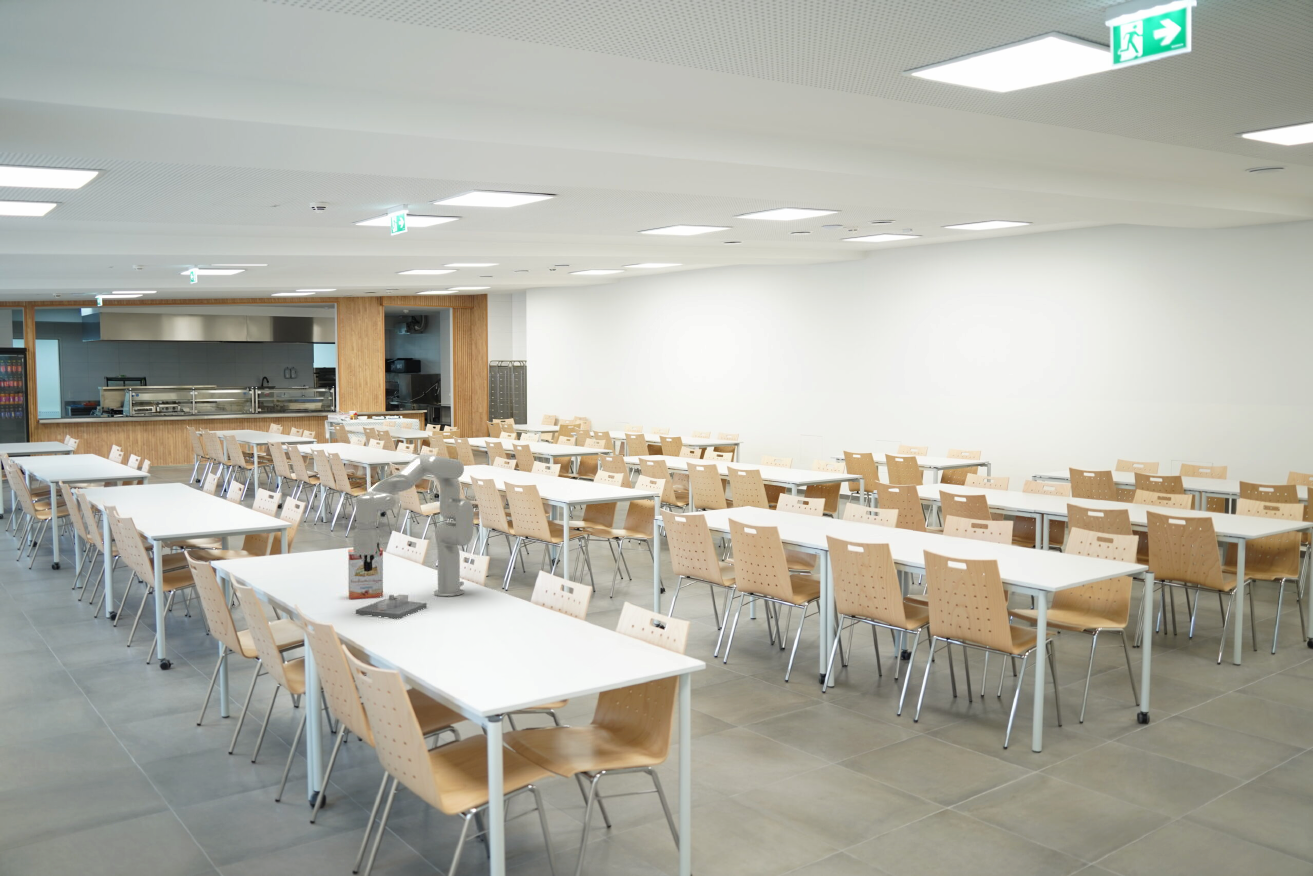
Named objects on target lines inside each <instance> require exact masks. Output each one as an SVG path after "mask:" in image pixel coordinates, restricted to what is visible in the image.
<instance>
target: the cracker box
mask: <svg viewBox="0 0 1313 876" xmlns="http://www.w3.org/2000/svg"><path fill="white" fill-rule="evenodd" d="M347 550H348V558H347V559H348V563H347V564H348V568H347V570H348V598H349V600H355V599H359V600H360V599H371V598H372V599H373V598H381V597H380V596H383V597H384V550H383V548H382V547H380V552H379V554H380V556H379V557H376V558H374V560H373V561H372V570H371V571H369V572H367V571H366V572H365V571H364V563H363V561H362V559H361V558H360V557H358V556H356V555H355V553H354V551H353V549H347ZM374 555H375V554H374Z"/></svg>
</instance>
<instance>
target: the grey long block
mask: <svg viewBox="0 0 1313 876" xmlns="http://www.w3.org/2000/svg"><path fill="white" fill-rule="evenodd" d="M385 599H386V600H384V599H383V600H384V601H381V600H380V601H381V602H379V603H378V610H381V611H388V610H390V609H393V608H395V607H399V606H401V605H403V604H405V603H408V601H409V594H401V593H400V594H396V595H394V600H389V597H388V598H385Z"/></svg>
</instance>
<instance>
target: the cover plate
mask: <svg viewBox="0 0 1313 876" xmlns="http://www.w3.org/2000/svg"><path fill="white" fill-rule="evenodd" d="M394 596H395V595H394V594H389V595H388V598H389V600H394ZM386 599H387V598H384V599H382V600H379V601H376V602H373V603H370V604H368V605H365V606H362V607H359V608H357V609H355V615H356V614H360V615H359V616H364V615H372V616H371V617H374V616H381V617H380V618H384V617H388V618H387V619H394V618H398V619H397V620H400V619H402V617H403V616H405V617H407V616H409V615H408V614H410V615H412V614H414V613H413V612H415V613H417V612H419V611H418V610H420V611H421V609H422V610H424V609H423V608H425V609H427V608H428V607H427V602H420V601H409V600H408V603H405V604H403V605H401V606H399V607H395V608H393V609H390V610H388V611H381V610H378V603H379V602H381V601H384V600H386ZM426 607H427V608H426ZM416 611H417V612H416ZM411 613H412V614H411ZM406 615H407V616H406ZM399 618H400V619H399ZM403 618H404V617H403Z"/></svg>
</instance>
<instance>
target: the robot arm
mask: <svg viewBox="0 0 1313 876" xmlns="http://www.w3.org/2000/svg"><path fill="white" fill-rule="evenodd" d="M464 472H465V467H464V464H463V462H462V461H460V460H459V459H455V458H450V457H449V458H448V457H446V456H445V457H444V456H439V455H435V454H419V455H417V456H415V457H414V458H413V459H412V460H411V461H410V462H408V463H407V464H406V465H405V466H404V467H403V468H402V469H401V470H399V471H398V472H397V473H395V474H393V475H390V476H389V477H386V478H384V479H382V480H379V481H378V482H377V483H375V484H374V485H373V486H371V488H369V489H368V490H367V491H365V493H364V494H361V495H358V496H356V498H355V509H356V510H355V511H356V512H355V514H356V515H355V516H356V519H355V520H356V521H355V522H354V526H356V528H355V530H354V532H353V542H352V543H353V547H352V548H353V551H354V553H355V555H356V556H358V557H360V558H361V559H362V561H363V563H364V571H365V572H366V571H367V572H369V571H371V570H372V561H373V560H374V558H376V557H379V556H380V554H379V552H380V548H381V538H380V533H379V530H378V528H377V512H389V511H391V510H392V509H393V508H394V507H395V506H396V498H395V497H394V495H393V494H396V493H400V492H405V491H408V490H411V489H413V488H414V486H416V485H417V484H418V483H419V482H420V481H421V480H422V479H423V478H424V477H425V476H433V477H434V478H435V479H436V480H437V482H438V485H439V489H440V490H439V491H440V493H439V515H440V516H441V517H442V518H444V519H445V520H446V519H447V520H452V521H453V520H454V521H455V522H454V521H453V522H451V521H444V522H440V523H439V524H438V525H437V526H436V527H435V530H434V538H435V543H436V549H437V551H436V552H437V589H436V590H434V591H433V594H434V596H437V595H438V596H437V597H446V596H447V597H455V596H454V595H458V596H460V594H461V595H463V594H464V590H463V589H462V588H461V587H463V586H464V584H465V582H464V581H462V580H461V579H460V578H461V577H460V576H461V571H460V569H461V567H460V565H461V563H460V562H461V561H460V560H461V559H460V558H461V557H460V555H461V554H460V549H459V547H464V546H467V545H469V544H470V543H471V541H472V539H473V533H474V517H475V510H474V506H473V504H472V502H471V500H469V499H467V498H461V485H460V481H459V478H461V477H462V476H463V474H464ZM458 546H459V547H458ZM374 554H375V555H374ZM460 580H461V581H460Z"/></svg>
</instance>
